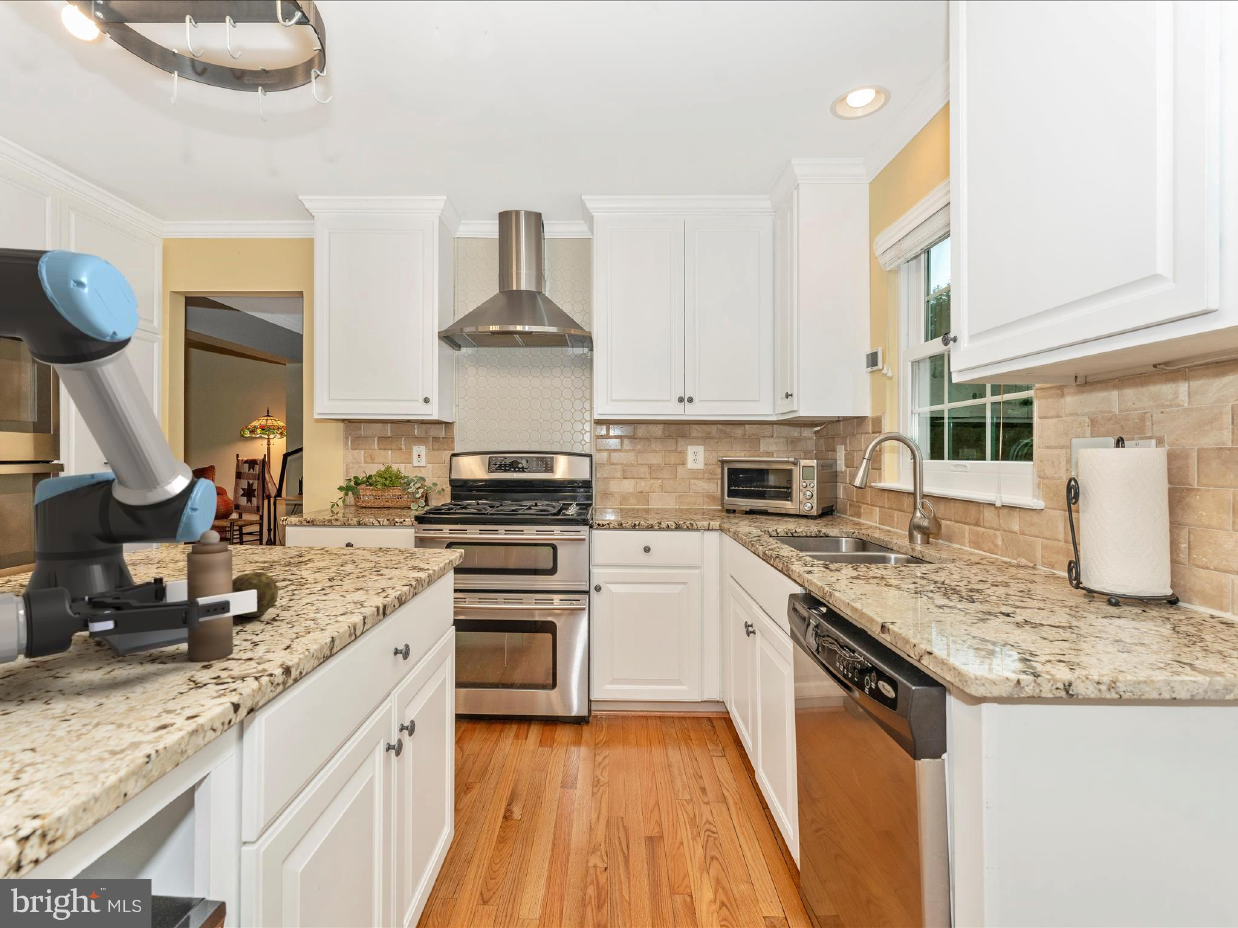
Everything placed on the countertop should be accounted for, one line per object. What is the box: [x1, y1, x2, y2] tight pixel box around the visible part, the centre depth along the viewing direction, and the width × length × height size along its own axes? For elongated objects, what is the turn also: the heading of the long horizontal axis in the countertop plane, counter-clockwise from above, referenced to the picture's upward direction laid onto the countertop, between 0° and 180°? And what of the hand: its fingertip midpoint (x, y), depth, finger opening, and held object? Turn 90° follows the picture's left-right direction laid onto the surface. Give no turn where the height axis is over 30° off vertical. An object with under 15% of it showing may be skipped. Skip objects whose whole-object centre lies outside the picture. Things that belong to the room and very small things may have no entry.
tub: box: [99, 598, 188, 657], centre depth 88 cm, size 12×12×5 cm
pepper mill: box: [186, 529, 234, 663], centre depth 80 cm, size 5×5×17 cm
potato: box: [232, 572, 279, 618], centre depth 98 cm, size 8×13×8 cm, turn 31°
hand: (237, 591), depth 82 cm, fingers open, 13 cm apart
